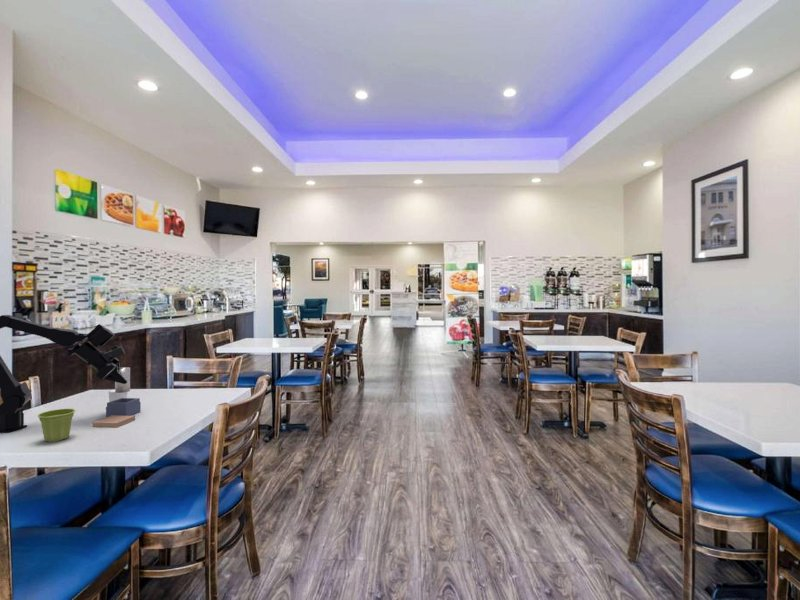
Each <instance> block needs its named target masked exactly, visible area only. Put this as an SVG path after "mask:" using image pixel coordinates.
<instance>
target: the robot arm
mask: <svg viewBox="0 0 800 600" xmlns="http://www.w3.org/2000/svg"><path fill="white" fill-rule="evenodd" d="M3 328H9V329H13V330H16V331H19V332H23V333H28V334H31V335H34V336H38V337H42V338H45V339H47V340H49V341H50V342H53V343H54V344H57V345H58V346H59V345H60V346H62V347H72V346H73V347H72V348H68V349H66V350H67V357H68V358H69V357H71V356H73V355H76V356H77V357H78V358H80V359H81V360H82V361H83V362H86V365H87V366H91V367H92V368H94V370H96V372H95V374H96V378H97V379H99V380H102V379H103V380H106V381H111V382H114V383H115V382H118V383H122V384H126V383H127V381H126V380H125V378H124V377H123V376H122V375H121V374H120V373H119V372H118V368H121V363H120V361H121V360H119V359H118V358H119V357H122V356H124V355H125V354H126V352H125V349H124V347H123V346H122V345H121V346H119V345H114V346H112V347H111V350H109V351H107V352H105V350H104V351H103V350H100V349H99V348H97V347H99V346H100V347H103V346H105V345H106V344H107V343H108V342H109V341H110V340H112V339H113V338H114V337H116V335H115V333H114V332H113V331H112V330H110V329H108V328H107V327H106V326H103V325H102V323H101V324H100V323H99V324H97V325H96V326H95V327H94V328H93V329H92V330H90V331H89V332H88V333H86V332H85V333H81V332H78V331H77V330H74V329H69V328H62V327H61V328H59V327H52V326H47V325H44V324H40V323H37V322H35V321H29V320H26V319H22V318H19V317H17V316H14V315H11V314H4V315H3V314H1V315H0V329H3ZM82 341H84V342H83V343H79V342H82ZM31 392H32V390H31V389H30V388H29V387H28V383H27V381H24V382H21V383H20V382H19V381H18V380H16V379H15V377H14V375H13V373H12V372H11V371H10V368H9V367H8V365H7V363H5V360H4V359H3V358H2V356H1V355H0V397H1V401H2V403H1V404H0V433H10V432H14V431H18V430H20V429H24V428H26V427H28V425H27V424H25V417H24V416H25V415H24V409H23V408H24V406H25V405H26V404H27V403H28V402H29V401H30V399H31V397H32V393H31ZM24 424H25V425H24Z"/></svg>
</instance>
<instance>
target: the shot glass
mask: <svg viewBox="0 0 800 600" xmlns="http://www.w3.org/2000/svg"><path fill="white" fill-rule="evenodd" d="M107 392H108V393H107V394H108V400H109V401H108V402H111V401H114V400H117V399H120V398H128V392H124V393H115V388H114V389H110V390H108V391H107Z"/></svg>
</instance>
